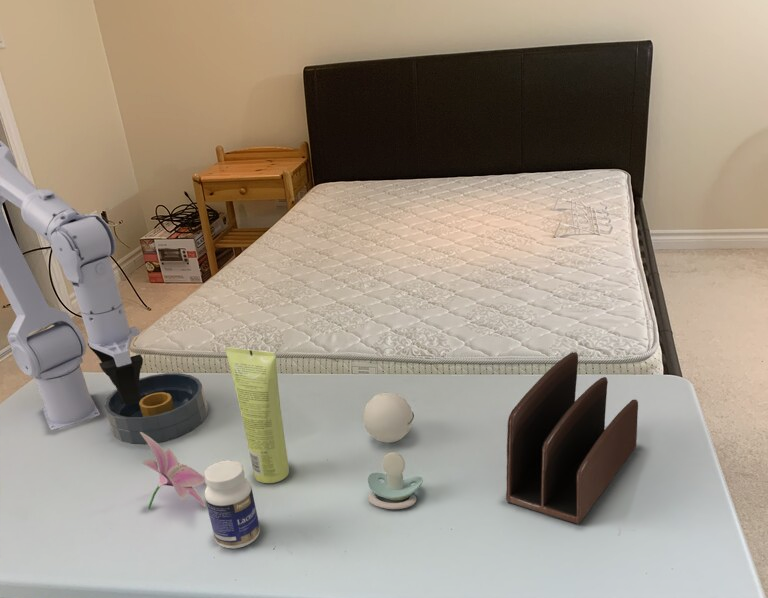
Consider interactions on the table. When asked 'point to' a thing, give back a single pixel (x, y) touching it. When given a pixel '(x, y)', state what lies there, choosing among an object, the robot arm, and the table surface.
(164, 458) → the lily
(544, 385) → the letter holder
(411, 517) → the table surface
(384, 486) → the pacifier
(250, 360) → the tube
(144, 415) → the ring
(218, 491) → the pill bottle
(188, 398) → the bowl
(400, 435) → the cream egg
